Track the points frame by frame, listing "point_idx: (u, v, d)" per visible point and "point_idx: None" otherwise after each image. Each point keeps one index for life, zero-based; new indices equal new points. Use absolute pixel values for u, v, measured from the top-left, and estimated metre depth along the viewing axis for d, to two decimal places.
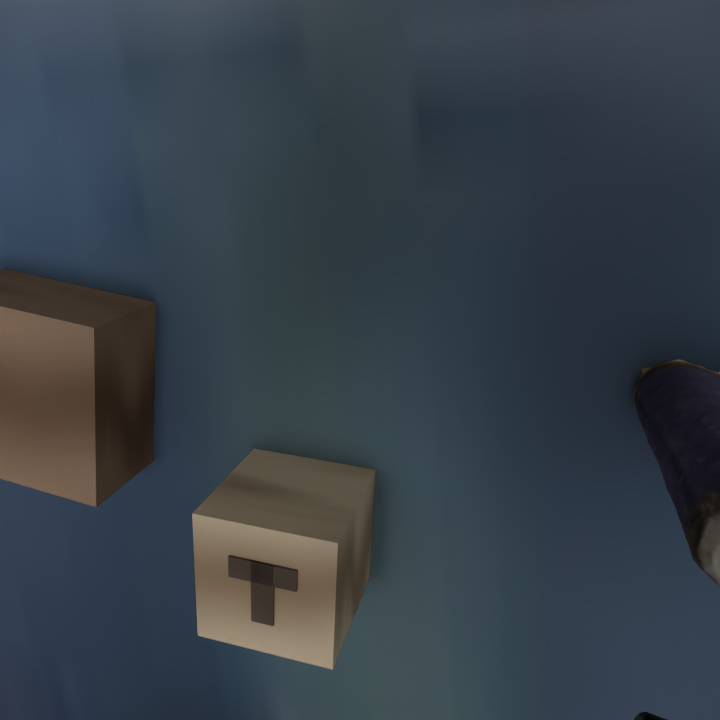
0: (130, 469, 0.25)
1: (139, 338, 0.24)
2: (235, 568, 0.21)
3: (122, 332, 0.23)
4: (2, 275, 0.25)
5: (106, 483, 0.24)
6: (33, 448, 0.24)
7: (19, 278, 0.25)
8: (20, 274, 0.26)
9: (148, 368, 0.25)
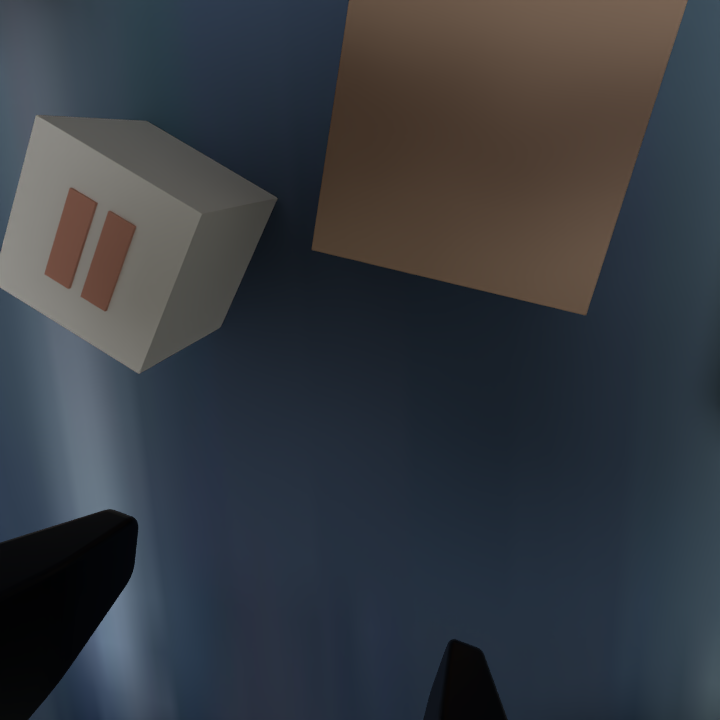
0: None
1: None
2: None
3: None
4: None
5: None
6: (494, 219, 0.15)
7: None
8: None
9: None
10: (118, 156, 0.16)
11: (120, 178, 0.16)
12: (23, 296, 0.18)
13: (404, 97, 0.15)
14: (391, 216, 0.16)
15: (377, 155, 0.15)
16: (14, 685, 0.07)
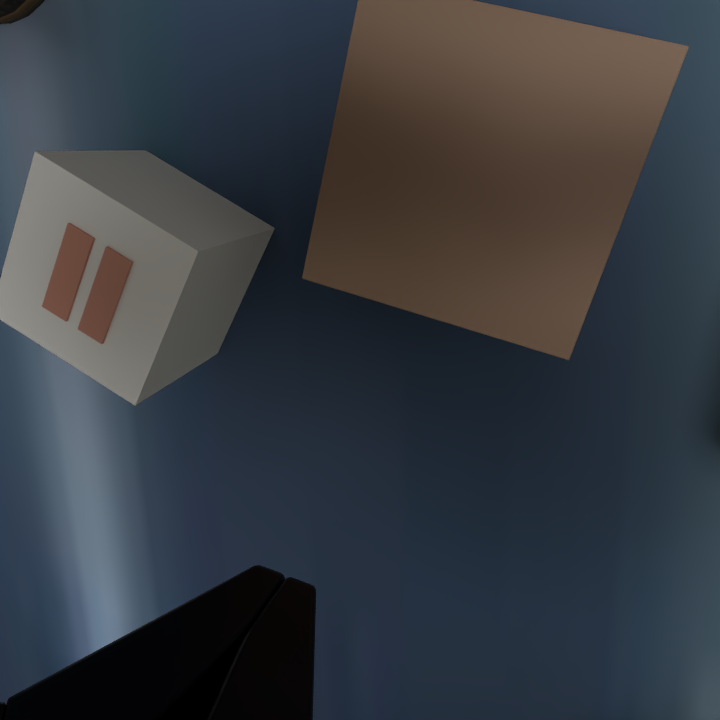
0: None
1: None
2: None
3: None
4: None
5: None
6: (483, 261, 0.15)
7: None
8: None
9: None
10: (116, 192, 0.17)
11: (117, 214, 0.16)
12: (21, 327, 0.18)
13: (401, 135, 0.15)
14: (382, 251, 0.16)
15: (371, 190, 0.15)
16: None
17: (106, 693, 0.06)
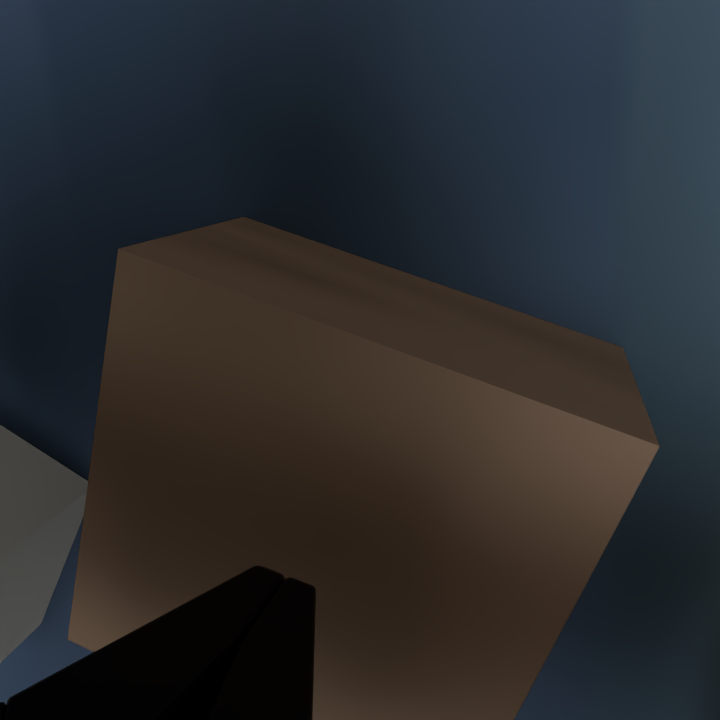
0: None
1: None
2: None
3: None
4: (259, 234, 0.11)
5: None
6: (328, 675, 0.10)
7: (299, 245, 0.11)
8: (291, 236, 0.11)
9: None
10: None
11: None
12: None
13: (195, 486, 0.09)
14: None
15: (157, 550, 0.10)
16: None
17: (106, 693, 0.06)
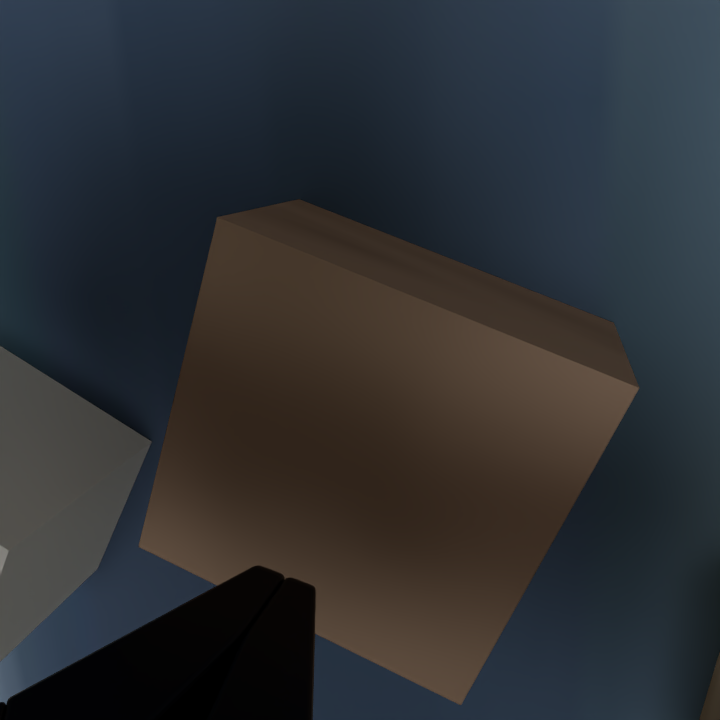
0: None
1: None
2: None
3: None
4: (315, 213, 0.13)
5: None
6: (361, 576, 0.12)
7: (348, 225, 0.13)
8: (340, 217, 0.13)
9: None
10: None
11: None
12: None
13: (262, 414, 0.11)
14: (237, 538, 0.12)
15: (225, 468, 0.12)
16: None
17: (106, 693, 0.06)
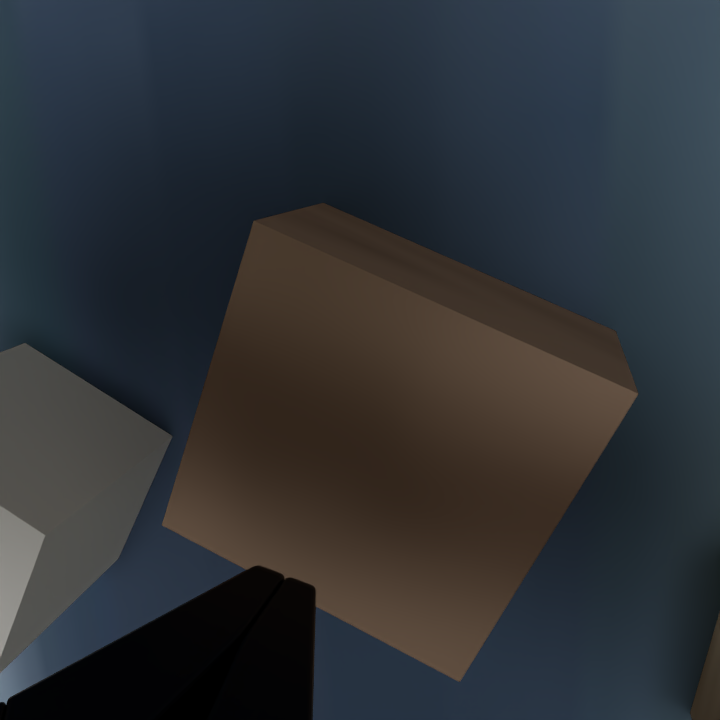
0: None
1: None
2: None
3: None
4: (339, 218, 0.14)
5: None
6: (372, 559, 0.13)
7: (370, 230, 0.14)
8: (362, 221, 0.14)
9: None
10: None
11: None
12: None
13: (287, 405, 0.12)
14: (256, 520, 0.13)
15: (248, 455, 0.13)
16: None
17: (106, 693, 0.06)
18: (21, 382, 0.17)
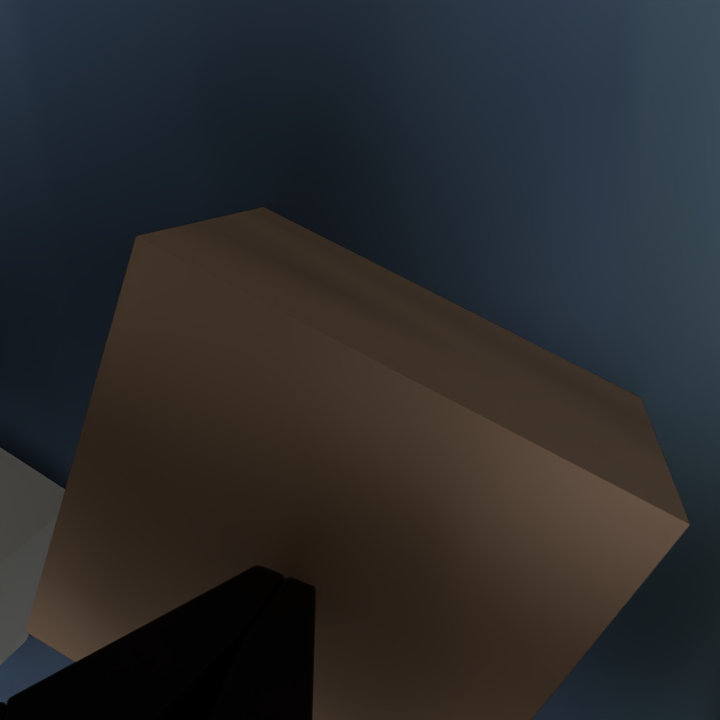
0: None
1: None
2: None
3: None
4: (280, 230, 0.10)
5: None
6: None
7: (321, 248, 0.10)
8: (312, 235, 0.11)
9: None
10: None
11: None
12: None
13: (185, 495, 0.09)
14: None
15: (135, 555, 0.09)
16: None
17: (106, 693, 0.06)
18: None
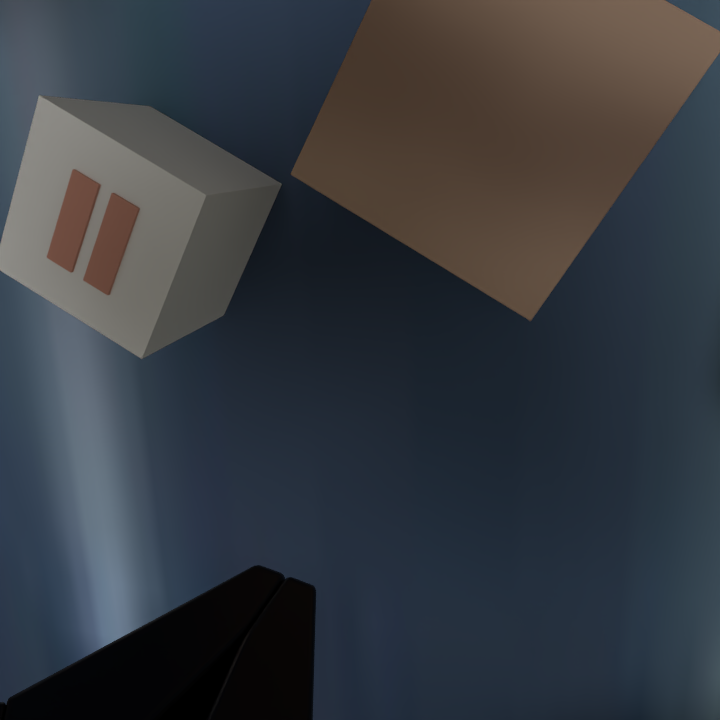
0: None
1: None
2: None
3: None
4: None
5: None
6: (476, 202, 0.15)
7: None
8: None
9: None
10: (122, 138, 0.16)
11: (124, 159, 0.16)
12: (25, 280, 0.18)
13: (428, 51, 0.14)
14: (379, 166, 0.15)
15: (384, 101, 0.15)
16: None
17: (107, 693, 0.06)
18: (156, 123, 0.19)
